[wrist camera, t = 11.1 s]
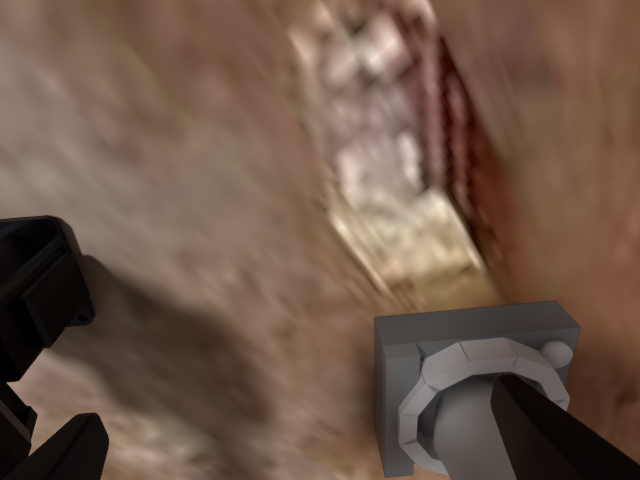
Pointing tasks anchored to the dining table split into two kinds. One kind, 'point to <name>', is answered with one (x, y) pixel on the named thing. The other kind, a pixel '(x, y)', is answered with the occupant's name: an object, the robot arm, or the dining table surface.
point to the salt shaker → (470, 433)
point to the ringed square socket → (460, 368)
